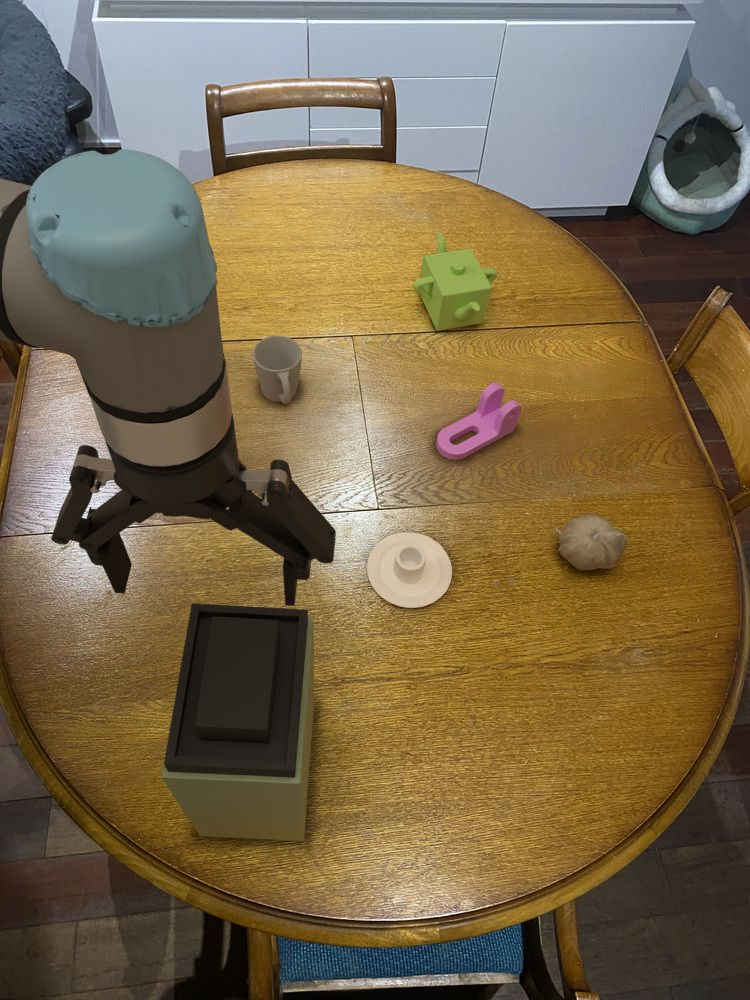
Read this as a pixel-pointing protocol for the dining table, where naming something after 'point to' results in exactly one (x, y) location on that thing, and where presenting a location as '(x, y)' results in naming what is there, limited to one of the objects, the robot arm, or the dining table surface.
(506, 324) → the dining table surface
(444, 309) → the green knobbed cube
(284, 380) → the cup
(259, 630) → the top pad
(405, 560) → the candle holder
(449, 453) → the bracket
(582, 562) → the garlic bulb
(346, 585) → the dining table surface
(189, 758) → the base pad
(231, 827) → the tray
